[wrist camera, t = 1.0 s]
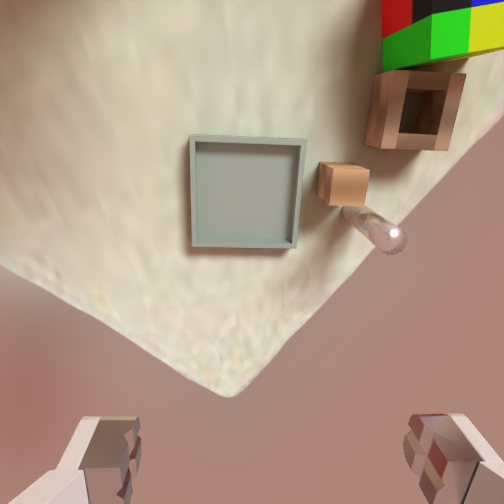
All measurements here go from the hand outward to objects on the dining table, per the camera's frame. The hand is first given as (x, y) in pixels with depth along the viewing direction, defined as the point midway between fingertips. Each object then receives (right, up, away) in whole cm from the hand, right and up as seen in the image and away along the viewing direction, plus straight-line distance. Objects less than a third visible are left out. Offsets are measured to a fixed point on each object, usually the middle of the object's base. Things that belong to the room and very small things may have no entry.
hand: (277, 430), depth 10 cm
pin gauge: (+12, +11, +34) cm, 38 cm away
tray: (-2, +13, +33) cm, 35 cm away
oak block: (+9, +15, +33) cm, 37 cm away
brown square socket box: (+17, +22, +30) cm, 41 cm away
